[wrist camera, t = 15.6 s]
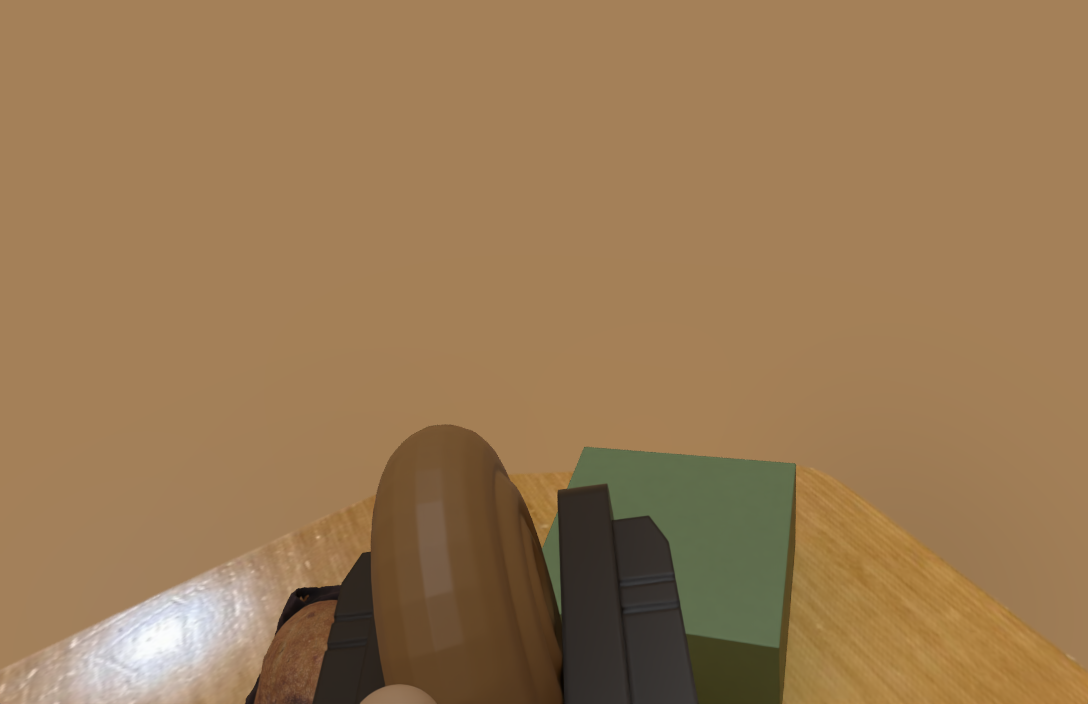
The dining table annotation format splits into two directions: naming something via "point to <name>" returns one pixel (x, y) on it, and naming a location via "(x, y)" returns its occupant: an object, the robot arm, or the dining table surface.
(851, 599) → the dining table surface
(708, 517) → the green block
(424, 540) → the snail figurine
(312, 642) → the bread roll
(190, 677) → the dining table surface
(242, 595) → the dining table surface
